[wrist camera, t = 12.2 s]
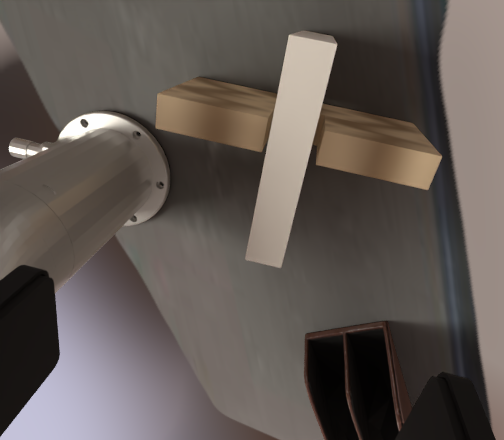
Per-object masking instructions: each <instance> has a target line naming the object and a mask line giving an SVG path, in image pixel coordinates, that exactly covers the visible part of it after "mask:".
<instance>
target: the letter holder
mask: <svg viewBox="0 0 504 440" xmlns="http://www.w3.org/2000/svg"><path fill="white" fill-rule="evenodd" d="M304 361H305V362H304V365H305V367H304V378H305V385H306V389H307V393H308V396H309V400H310V403H311V406H312V408H313V411H314V413H315V416H316V419H317V421H318V424H319V426H320V429H321V432H322V434H323V437H324V439H325V440H395V438H396V437H397V435H398V433H399V431H400V430H401V428H402V426H403V424H404V423H405V421H406V419H407V417H408V416H409V414H410V412H411V410H412V406H411V403H410V399H409V396H408V392H407V388H406V385H405V382H404V378H403V375H402V371H401V367H400V364H399V361H398V357H397V354H396V350H395V346H394V343H393V339H392V336H391V332H390V327H389V323H388V321H381V322H374V323H368V324H361V325H355V326H349V327H344V328H337V329H331V330H325V331H319V332H313V333H307V334H306V335H305V359H304Z"/></svg>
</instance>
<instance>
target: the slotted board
mask: <svg viewBox="0 0 504 440" xmlns="http://www.w3.org/2000/svg"><path fill="white" fill-rule="evenodd" d="M276 99H277V94H276V93H272V92H267V91H262V90H258V89H253V88H248V87H244V86H239V85H234V84H230V83H225V82H221V81H216V80H211V79H207V78H202V77H196V78H194V79H192V80H189V81H187V82H184V83H182V84H180V85H177V86H175V87H172V88H170V89H168V90H165V91H163V92H160V93H158V95H157V112H156V129H161V130H165V131H170V132H174V133H178V134H183V135H187V136H192V137H196V138H201V139H205V140H209V141H214V142H218V143H223V144H227V145H231V146H236V147H240V148H245V149H249V150H253V151H258V152H262V150H263V148H264V146H265V144H266V142H267V140H268V138H269V135H270V130H271V125H272V119H273V114H274V109H275V104H276ZM312 144H313V145H317V156H316V165H320V166H324V167H328V168H333V169H337V170H342V171H346V172H350V173H355V174H359V175H364V176H368V177H372V178H377V179H381V180H386V181H390V182H394V183H399V184H403V185H408V186H412V187H416V188H421V189H425V190H428V189H429V187H430V184H431V182H432V180H433V177H434V175H435V173H436V170H437V168H438V166H439V163H440V161H441V159H442V155H441V154H440V153H439V152H438V151H437V150H436V149H435V147H434V146H433V145H432V144H431V143H430V142H429V141H428V140H427V138H426V137H425V136H424V135H423V134H422V133H421V132H420V130H419V129H418V128H417V127H416V126H415V125H414V124H413V123H410V122H406V121H401V120H397V119H392V118H387V117H383V116H378V115H373V114H369V113H364V112H359V111H355V110H350V109H346V108H341V107H336V106H332V105H327V104H322V108H321V112H320V116H319V119H318V123H317V127H316V131H315V135H314V139H313V143H312Z"/></svg>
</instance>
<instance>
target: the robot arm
mask: <svg viewBox="0 0 504 440" xmlns="http://www.w3.org/2000/svg"><path fill="white" fill-rule="evenodd" d="M87 121H88V122H87ZM138 132H139V133H140V134H141V135H139V133H138ZM9 151H10V154H11V155H12V156H14V157H18V158H23V160H21V161H19V162H17V163H15V164H12V165H10V166H8V167H6V168H4V169H1V170H0V436H1V435H2V434H3V432H4V431H5V430H6V429H7V428H8V426H9V425H10V424H11V422H12V421H13V420H14V419H15V417H16V416H17V415H18V414H19V412H20V411H21V410H22V408H23V407H24V406H25V405H26V403H27V402H28V401H29V400H30V398H31V397H32V396H33V394H34V393H35V392H36V391H37V389H38V388H39V387H40V386H41V384H42V383H43V382H44V381H45V379H46V378H47V377H48V375H49V374H50V373H51V372H52V370H53V369H54V368H55V366H56V364H57V362H58V360H59V355H60V352H59V339H58V326H57V314H56V301H55V293H56V292H57V291H58V290H59V289H60V288H61V287H62V286H63V285H64V284H65V283H66V282H67V281H68V280H69V279H70V278H71V277H72V276H73V275H74V274H75V273H76V272H77V271H78V270H79V269H80V268H81V267H82V266H83V265H84V264H85V263H86V262H87V261H88V260H89V259H90V258H91V257H92V256H93V255H94V254H95V253H96V252H97V251H98V250H99V249H100V248H101V247H102V246H103V245H104V244H105V243H106V242H107V241H108V240H109V239H110V238H111V237H112V236H113V235H114V234H115V233H116V232H117V231H118V230H119V229H120V228H121V227H122V226H132V225H136V224H140V223H142V222H145V221H147V220H148V219H150V218H151V217H152V216H154V215H155V214H156V213H157V212H158V211H159V210H160V209H161V207H162V206H163V204H164V202H165V201H166V199H167V196H168V193H169V189H170V182H171V180H170V169H169V165H168V161H167V158H166V156H165V154H164V151H163V149H162V147H161V146H160V144H159V143H158V141H157V140H156V138H155V137H154V136H153V135H152V134H151V133H150V132H149V131H148V130H147V129H146V128H145V127H143V126H142V125H141V124H140V123H138V122H137V121H135V120H133V119H131V118H130V117H128V116H126V115H123V114H120V113H116V112H111V111H93V112H89V113H86V114H83V115H81V116H79V117H77V118H74V119H73V120H72V121H70V122H69V123H68V124H67V125H66V126H65V127H64V129H63V130H62V131H61V133H60V135H59V137H58V140H57V141H56V142H54V143H49V142H44V143H43V144H37V143H35V142H32V141H28V140H23V139H19V138H14V139H13V140H12V141H11V143H10V145H9ZM161 182H163V184H162V183H161ZM395 440H496V439H495V437H494V434H493V432H492V429H491V427H490V424H489V422H488V420H487V417H486V415H485V412H484V410H483V407H482V405H481V402H480V400H479V398H478V395H477V393H476V390H475V388H474V385H473V384H472V382H471V381H470V380H469V379H468V378H464V377H460V376H456V375H452V374H448V373H444V372H442V373H440V374H439V375H438V376H437V377H434V376H432V377H431V378H430V379H429V381H428V382H427V384H426V386H425V388H424V389H423V391H422V393H421V395H420V396H419V398H418V400H417V402H416V403H415V405H414V407H413V409H412V410H411V412H410V414H409V416H408V417H407V419H406V421H405V423H404V424H403V426H402V428H401V430H400V431H399V433H398V435H397V437H396V438H395Z"/></svg>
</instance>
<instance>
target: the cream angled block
mask: <svg viewBox="0 0 504 440" xmlns="http://www.w3.org/2000/svg"><path fill="white" fill-rule="evenodd" d="M336 48H337V43H336V41H335V39H334V37H333V36H330V35H325V34H320V33H315V32H309V31H304V30H303V31H300V32H297V33H293V34H290V35H289V38H288V43H287V48H286V53H285V58H284V63H283V68H282V74H281V79H280V84H279V89H278V94H277V99H276V104H275V109H274V114H273V119H272V125H271V130H270V135H269V140H268V145H267V150H266V155H265V160H264V165H263V170H262V176H261V181H260V186H259V191H258V196H257V201H256V206H255V211H254V216H253V221H252V227H251V232H250V237H249V242H248V247H247V252H246V257H245V260H249V261H253V262H257V263H261V264H265V265H269V266H274V267H278V268H281V266H282V262H283V258H284V255H285V251H286V247H287V243H288V239H289V235H290V231H291V227H292V223H293V219H294V215H295V211H296V207H297V203H298V199H299V195H300V191H301V187H302V183H303V179H304V175H305V171H306V167H307V163H308V159H309V155H310V151H311V147H312V143H313V139H314V135H315V131H316V127H317V123H318V119H319V116H320V112H321V108H322V104H323V100H324V96H325V92H326V88H327V84H328V80H329V76H330V72H331V68H332V64H333V60H334V56H335V52H336Z"/></svg>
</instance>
